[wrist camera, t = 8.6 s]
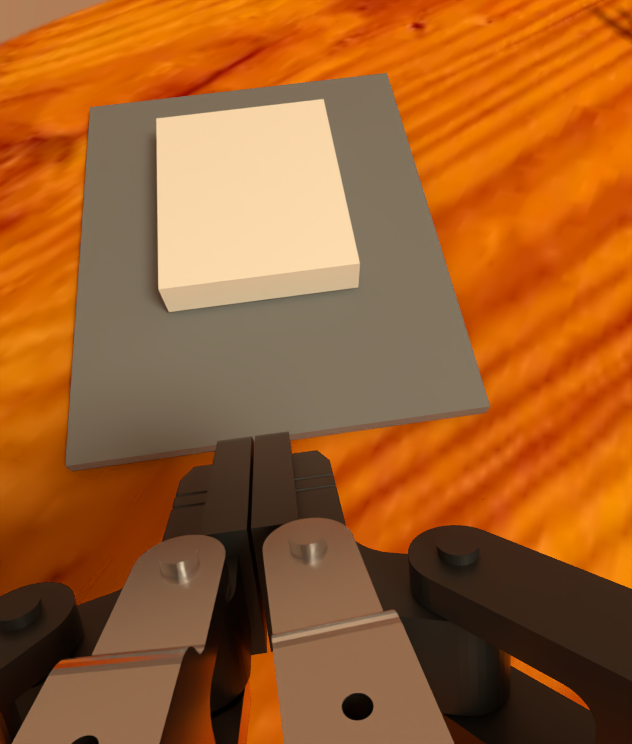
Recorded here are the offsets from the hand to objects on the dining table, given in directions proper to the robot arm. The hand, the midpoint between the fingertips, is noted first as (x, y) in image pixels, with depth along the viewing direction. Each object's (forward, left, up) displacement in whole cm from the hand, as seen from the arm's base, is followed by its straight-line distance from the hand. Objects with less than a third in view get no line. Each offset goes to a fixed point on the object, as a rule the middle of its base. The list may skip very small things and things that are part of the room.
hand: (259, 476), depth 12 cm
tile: (+5, +9, -7) cm, 13 cm away
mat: (+7, +12, -9) cm, 17 cm away
